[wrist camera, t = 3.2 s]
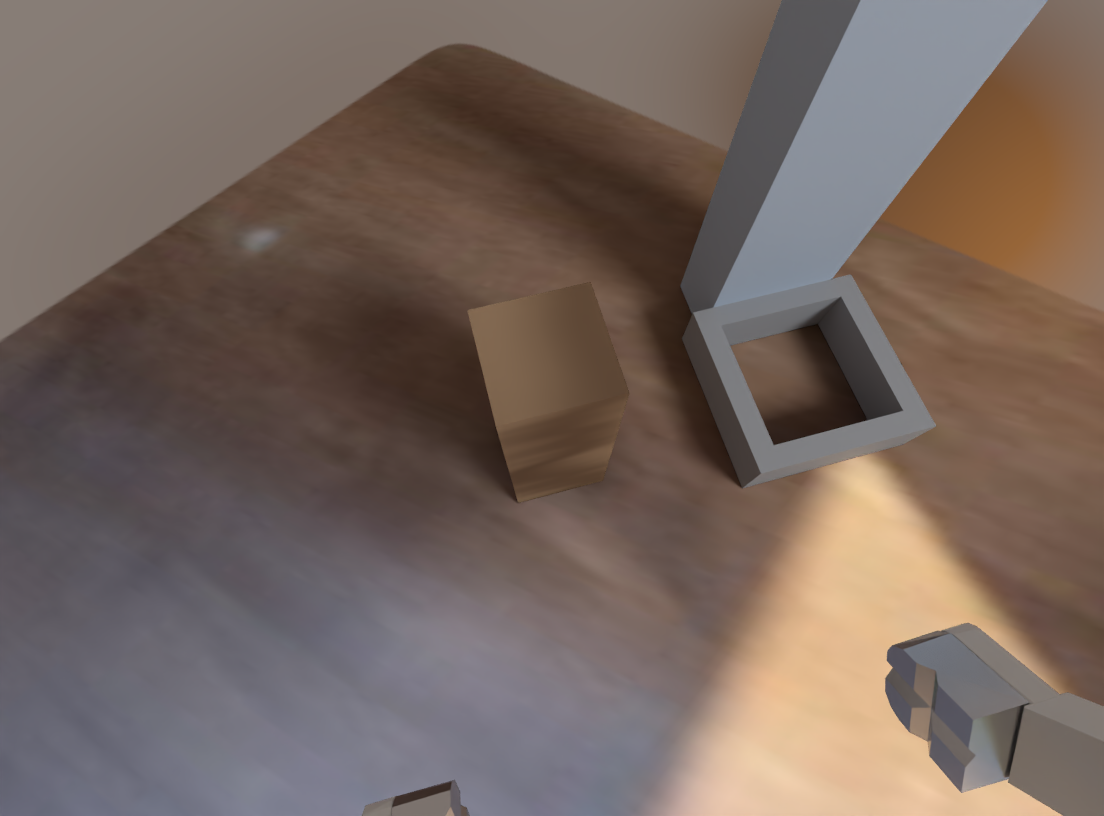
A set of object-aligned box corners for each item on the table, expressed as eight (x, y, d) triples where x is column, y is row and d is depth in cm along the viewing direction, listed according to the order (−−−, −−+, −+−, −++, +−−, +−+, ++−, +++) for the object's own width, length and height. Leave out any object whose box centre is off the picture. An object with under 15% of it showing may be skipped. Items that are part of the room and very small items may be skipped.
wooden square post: (518, 502, 25) (495, 426, 16) (498, 423, 27) (467, 310, 17) (603, 480, 26) (629, 392, 16) (578, 402, 27) (590, 281, 18)
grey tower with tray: (742, 488, 25) (1166, 155, 8) (659, 282, 30) (810, -237, 12) (902, 444, 26) (1624, 48, 8) (799, 250, 30) (1137, -286, 13)
